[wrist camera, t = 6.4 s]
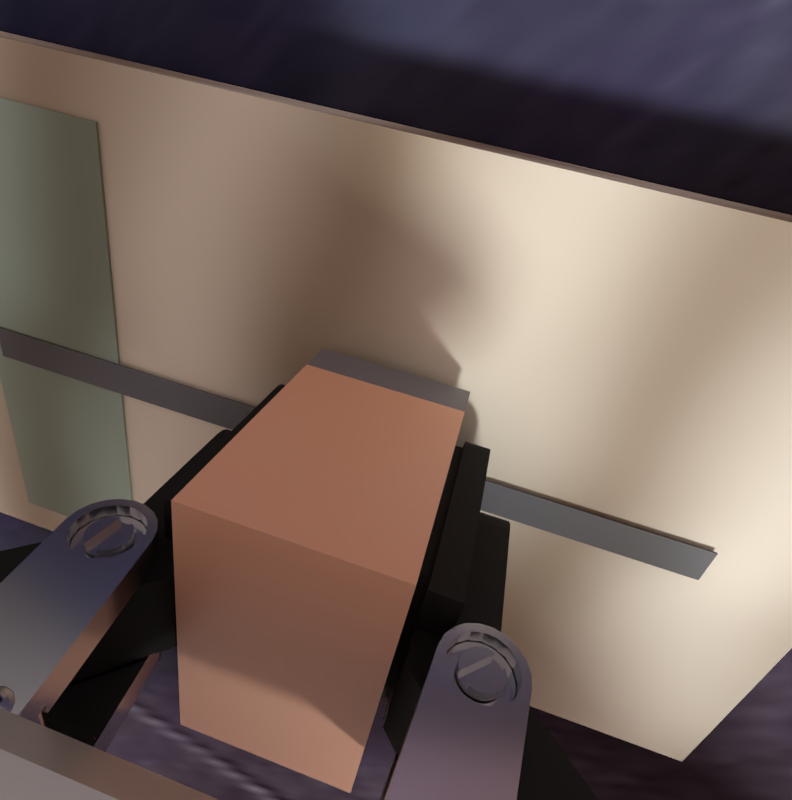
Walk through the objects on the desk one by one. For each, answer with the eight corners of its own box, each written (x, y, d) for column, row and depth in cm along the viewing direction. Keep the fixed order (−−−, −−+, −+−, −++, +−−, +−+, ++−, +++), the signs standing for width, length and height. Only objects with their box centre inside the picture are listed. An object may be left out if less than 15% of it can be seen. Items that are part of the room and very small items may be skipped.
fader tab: (470, 391, 10) (416, 585, 6) (415, 570, 12) (350, 792, 8) (322, 348, 10) (170, 500, 6) (298, 530, 13) (181, 724, 9)
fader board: (1013, 266, 9) (1134, 302, 7) (666, 690, 15) (682, 765, 14) (-69, 15, 11) (-184, -6, 10) (30, 467, 18) (-27, 505, 16)
